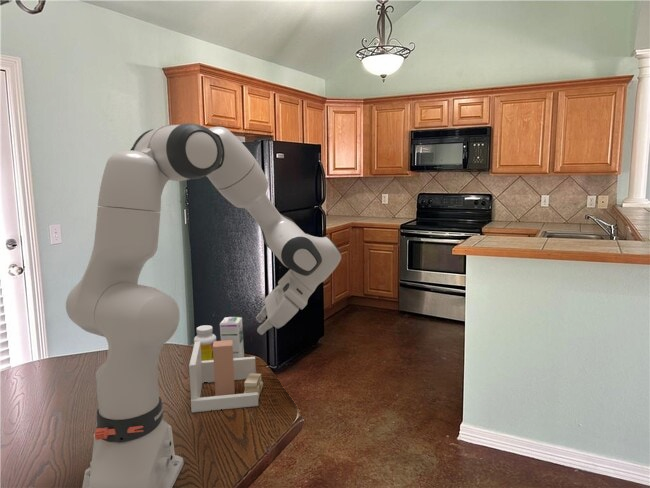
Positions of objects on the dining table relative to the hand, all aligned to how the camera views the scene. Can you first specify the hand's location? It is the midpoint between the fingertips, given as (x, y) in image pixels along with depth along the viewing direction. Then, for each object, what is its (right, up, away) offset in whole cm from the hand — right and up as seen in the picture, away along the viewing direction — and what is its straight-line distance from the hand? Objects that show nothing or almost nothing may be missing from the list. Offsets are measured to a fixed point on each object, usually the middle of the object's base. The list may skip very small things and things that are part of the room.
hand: (258, 326), depth 125 cm
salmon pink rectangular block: (-9, -18, +2) cm, 20 cm away
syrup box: (-10, -15, +19) cm, 27 cm away
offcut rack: (-9, -18, +1) cm, 20 cm away
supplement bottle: (-18, -16, +17) cm, 29 cm away
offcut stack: (-2, -18, +1) cm, 18 cm away
